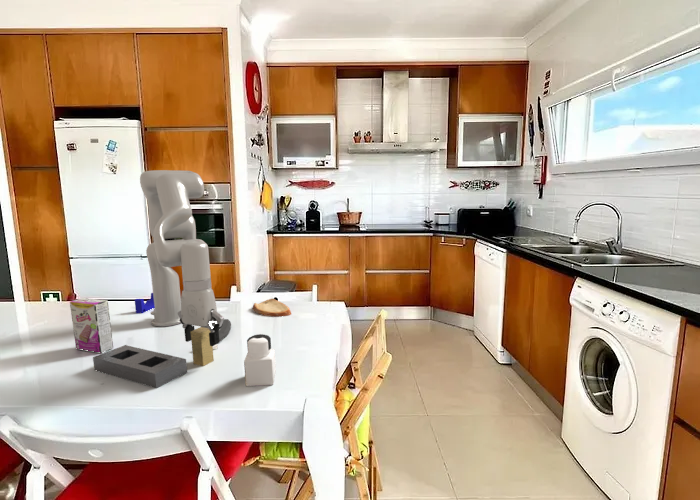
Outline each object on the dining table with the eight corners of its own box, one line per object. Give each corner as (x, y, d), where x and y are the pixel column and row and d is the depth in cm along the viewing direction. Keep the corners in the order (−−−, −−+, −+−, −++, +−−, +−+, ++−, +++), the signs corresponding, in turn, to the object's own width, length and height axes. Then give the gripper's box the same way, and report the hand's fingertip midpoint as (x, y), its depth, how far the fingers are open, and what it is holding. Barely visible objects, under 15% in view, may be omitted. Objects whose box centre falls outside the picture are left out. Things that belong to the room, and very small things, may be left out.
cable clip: (151, 305, 186) (150, 292, 185) (160, 305, 186) (159, 292, 185) (132, 313, 175) (131, 299, 174) (142, 313, 174) (141, 299, 173)
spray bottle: (233, 325, 156) (224, 352, 132) (202, 328, 155) (188, 354, 131) (232, 318, 156) (223, 343, 132) (202, 320, 154) (187, 345, 130)
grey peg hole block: (94, 370, 119) (92, 357, 118) (126, 357, 128) (125, 345, 127) (156, 388, 107) (154, 373, 107) (187, 372, 116) (186, 358, 115)
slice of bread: (290, 317, 165) (289, 308, 164) (245, 318, 165) (244, 308, 165) (297, 304, 182) (296, 296, 182) (256, 305, 183) (256, 297, 182)
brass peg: (193, 363, 122) (190, 331, 120) (203, 358, 125) (201, 326, 124) (203, 366, 120) (200, 333, 118) (213, 360, 124) (211, 328, 122)
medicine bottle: (249, 374, 114) (247, 332, 112) (276, 373, 114) (273, 331, 113) (245, 387, 107) (242, 342, 105) (273, 385, 107) (271, 340, 106)
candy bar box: (74, 350, 134) (68, 301, 132) (89, 345, 139) (83, 297, 137) (100, 354, 131) (94, 303, 128) (114, 348, 135) (108, 299, 133)
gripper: (165, 285, 120) (171, 342, 122) (210, 290, 112) (215, 351, 114) (186, 280, 126) (191, 334, 129) (229, 284, 118) (234, 342, 121)
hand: (202, 342), depth 121 cm, fingers open, 9 cm apart
